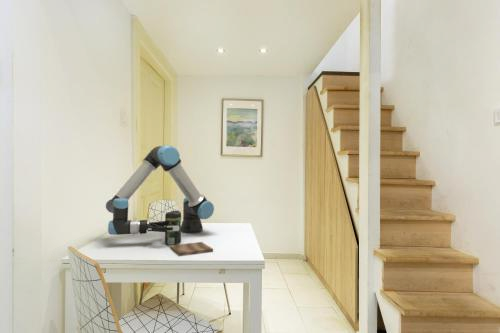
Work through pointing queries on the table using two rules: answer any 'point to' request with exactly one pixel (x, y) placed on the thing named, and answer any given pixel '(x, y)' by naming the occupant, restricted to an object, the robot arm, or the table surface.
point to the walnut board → (191, 248)
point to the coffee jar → (173, 220)
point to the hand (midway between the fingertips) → (178, 225)
